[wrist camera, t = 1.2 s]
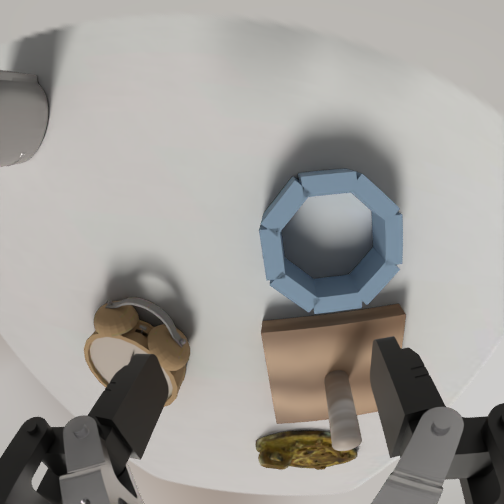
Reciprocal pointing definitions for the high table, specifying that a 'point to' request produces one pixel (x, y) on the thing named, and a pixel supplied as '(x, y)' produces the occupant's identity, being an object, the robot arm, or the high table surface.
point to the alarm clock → (135, 342)
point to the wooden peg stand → (327, 367)
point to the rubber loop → (344, 286)
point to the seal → (301, 450)
